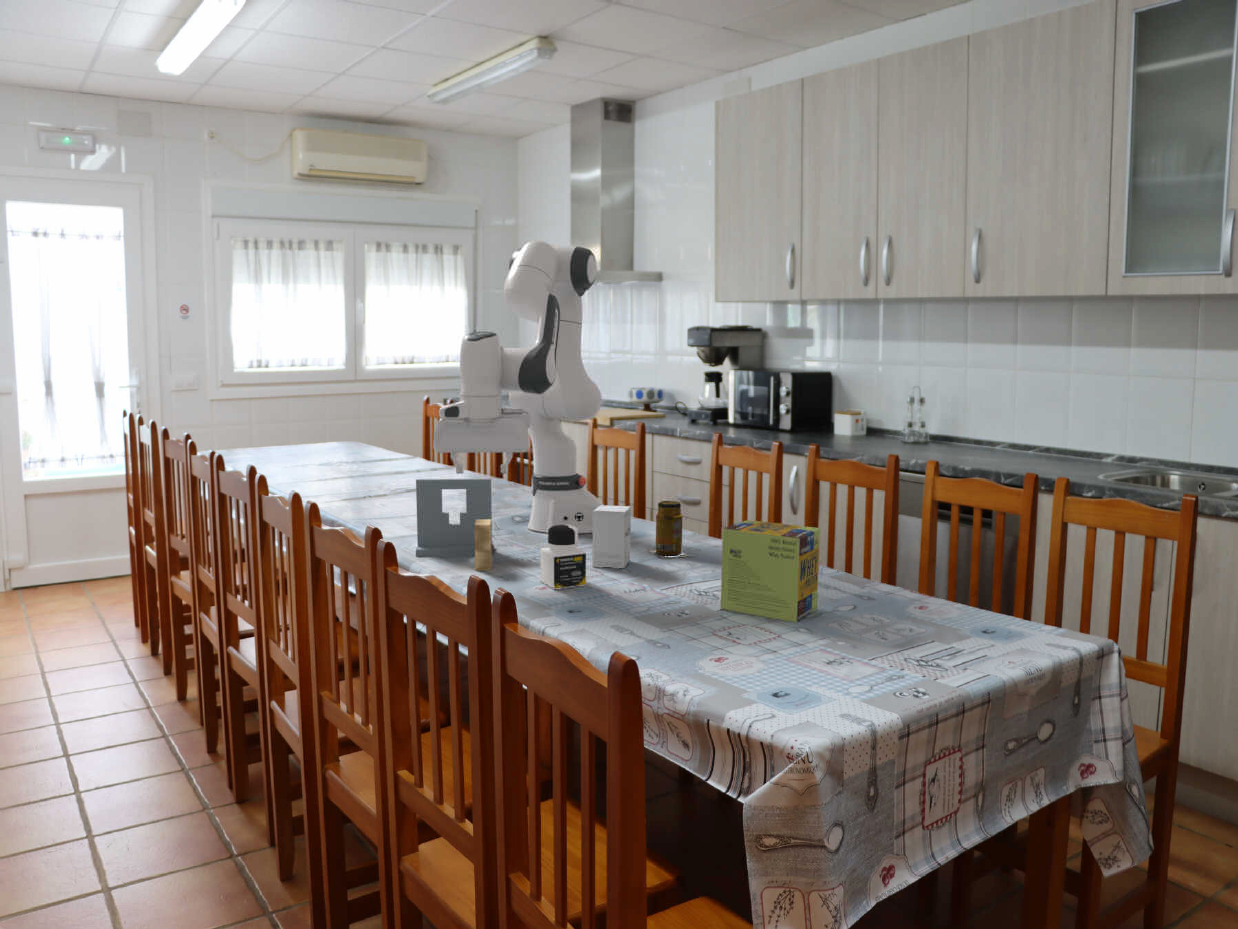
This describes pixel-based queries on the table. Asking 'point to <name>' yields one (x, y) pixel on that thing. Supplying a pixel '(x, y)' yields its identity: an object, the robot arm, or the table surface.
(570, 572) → the medicine bottle
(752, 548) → the protein box
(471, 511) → the slate keyhole board
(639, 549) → the table surface
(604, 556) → the supplement box
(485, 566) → the hanger block
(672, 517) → the condiment
